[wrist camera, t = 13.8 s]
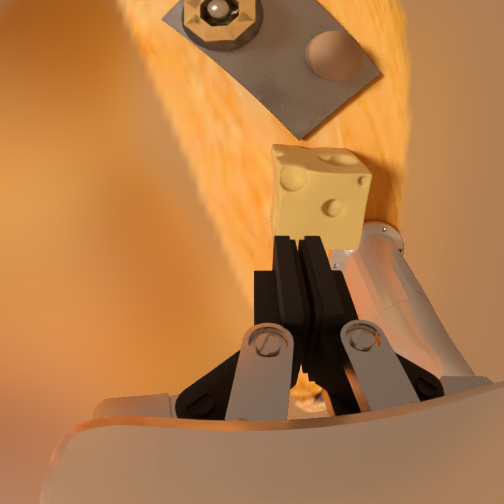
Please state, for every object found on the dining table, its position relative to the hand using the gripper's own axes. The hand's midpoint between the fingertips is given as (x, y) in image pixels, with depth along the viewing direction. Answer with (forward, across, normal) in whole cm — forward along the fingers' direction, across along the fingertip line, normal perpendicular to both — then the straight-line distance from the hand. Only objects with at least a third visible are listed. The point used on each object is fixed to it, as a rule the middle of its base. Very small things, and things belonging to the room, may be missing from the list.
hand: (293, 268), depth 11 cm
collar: (+26, +5, -14) cm, 30 cm away
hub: (+29, +5, -14) cm, 32 cm away
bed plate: (+29, -1, -11) cm, 31 cm away
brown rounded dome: (+29, -8, -9) cm, 31 cm away
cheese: (+29, -6, +8) cm, 31 cm away
